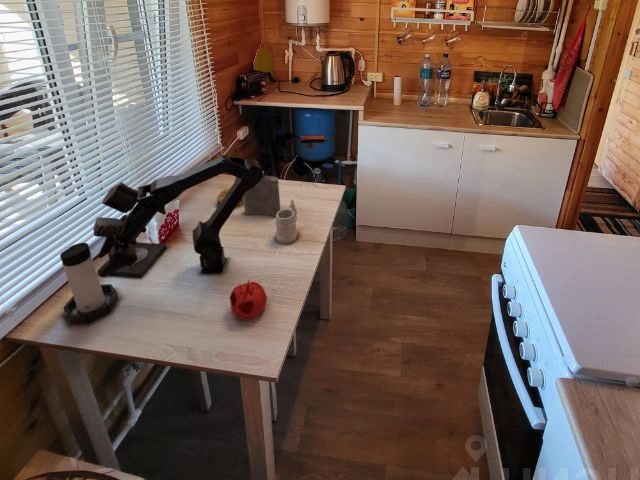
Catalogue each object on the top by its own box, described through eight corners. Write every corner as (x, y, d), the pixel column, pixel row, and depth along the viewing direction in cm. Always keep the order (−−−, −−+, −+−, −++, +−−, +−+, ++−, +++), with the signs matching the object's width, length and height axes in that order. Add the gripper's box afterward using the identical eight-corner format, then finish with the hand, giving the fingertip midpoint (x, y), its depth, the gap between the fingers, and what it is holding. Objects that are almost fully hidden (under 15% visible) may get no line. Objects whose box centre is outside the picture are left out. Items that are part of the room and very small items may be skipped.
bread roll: (235, 217, 154) (241, 201, 151) (210, 207, 152) (217, 191, 150) (242, 203, 163) (248, 189, 160) (219, 194, 161) (225, 179, 159)
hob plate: (166, 247, 130) (165, 243, 130) (141, 277, 117) (140, 272, 117) (128, 245, 131) (126, 241, 131) (98, 274, 118) (97, 269, 118)
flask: (247, 209, 153) (242, 169, 146) (282, 211, 152) (279, 170, 145) (243, 214, 149) (239, 173, 143) (279, 216, 148) (276, 175, 142)
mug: (272, 241, 134) (269, 212, 129) (286, 222, 144) (284, 195, 140) (292, 245, 132) (290, 216, 127) (305, 226, 142) (304, 198, 138)
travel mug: (93, 317, 103) (74, 257, 96) (73, 313, 104) (52, 254, 97) (111, 300, 109) (95, 242, 101) (92, 296, 110) (74, 239, 103)
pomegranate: (249, 291, 112) (246, 265, 109) (275, 304, 108) (272, 278, 104) (222, 314, 104) (218, 287, 101) (249, 330, 100) (245, 303, 96)
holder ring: (125, 290, 112) (123, 283, 111) (102, 323, 101) (100, 316, 100) (84, 291, 111) (82, 285, 111) (57, 324, 101) (54, 317, 100)
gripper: (107, 193, 108) (69, 239, 106) (113, 225, 94) (69, 279, 92) (143, 208, 115) (108, 251, 113) (154, 240, 101) (114, 290, 99)
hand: (100, 266), depth 104 cm, fingers open, 9 cm apart
